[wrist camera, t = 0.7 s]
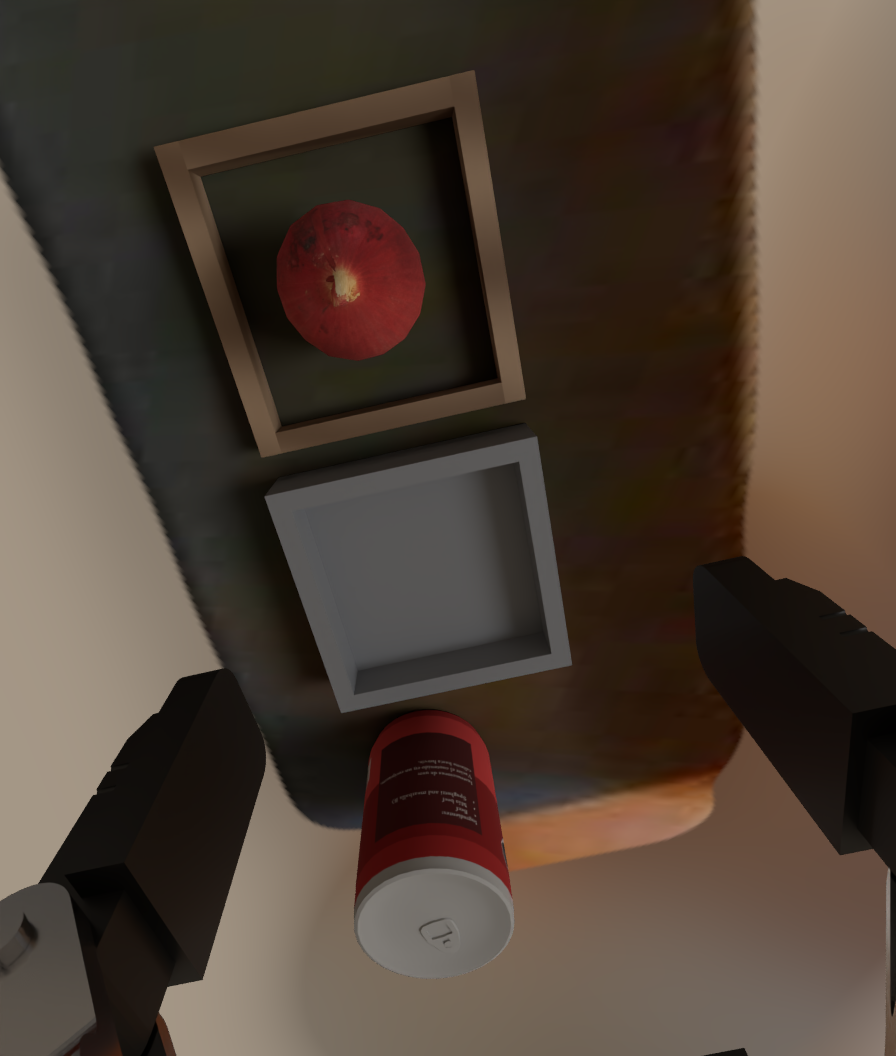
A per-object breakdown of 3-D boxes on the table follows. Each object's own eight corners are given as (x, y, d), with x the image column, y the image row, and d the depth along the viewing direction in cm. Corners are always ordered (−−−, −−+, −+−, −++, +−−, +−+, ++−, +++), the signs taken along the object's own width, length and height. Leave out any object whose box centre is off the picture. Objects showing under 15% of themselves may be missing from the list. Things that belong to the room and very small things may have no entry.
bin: (278, 477, 30) (264, 496, 27) (525, 423, 29) (536, 436, 27) (347, 679, 35) (341, 713, 32) (559, 634, 34) (572, 665, 31)
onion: (269, 266, 26) (211, 255, 19) (371, 184, 25) (352, 137, 18) (349, 374, 28) (326, 403, 21) (447, 302, 27) (459, 305, 20)
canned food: (423, 818, 39) (427, 1001, 29) (342, 750, 37) (315, 925, 26) (513, 759, 38) (549, 931, 28) (435, 684, 35) (443, 843, 25)
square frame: (168, 155, 24) (153, 146, 23) (470, 83, 24) (474, 69, 22) (268, 450, 29) (261, 457, 28) (520, 393, 29) (526, 398, 27)
